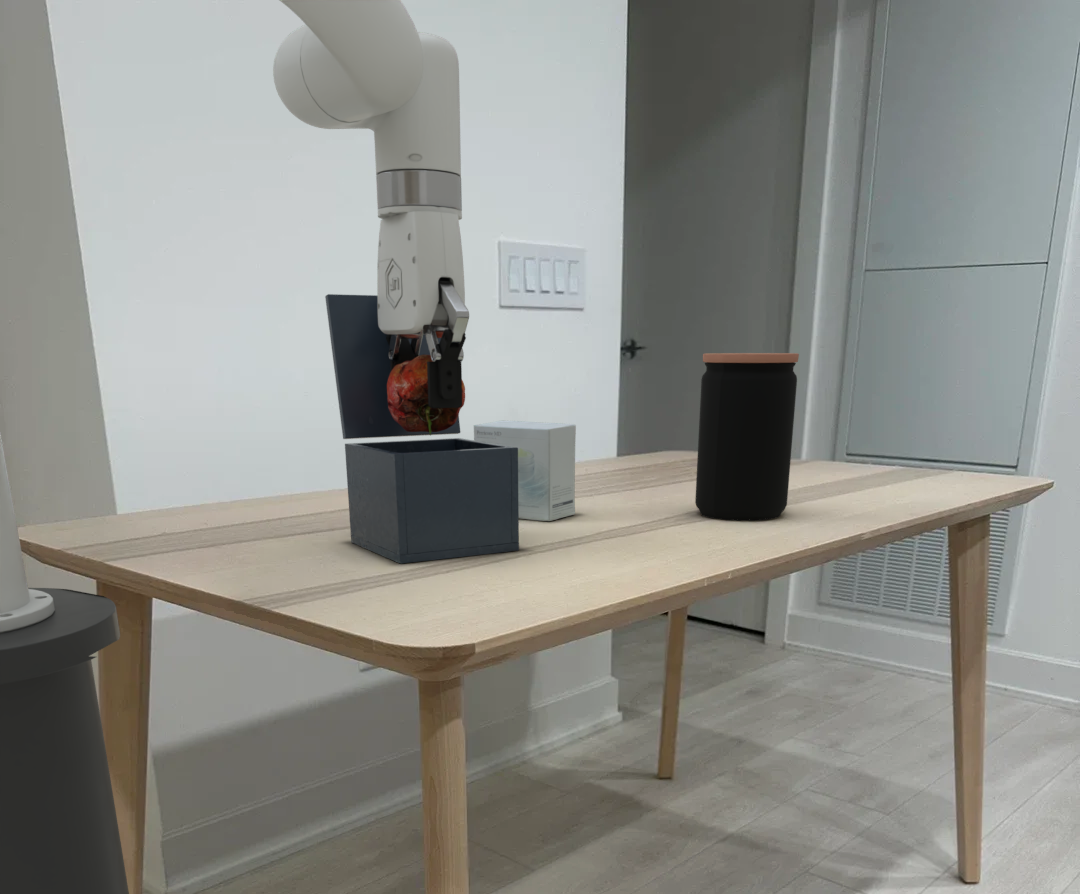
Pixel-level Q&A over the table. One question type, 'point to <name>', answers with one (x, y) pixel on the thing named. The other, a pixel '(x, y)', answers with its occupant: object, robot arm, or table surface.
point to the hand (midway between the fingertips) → (426, 404)
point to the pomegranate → (417, 398)
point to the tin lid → (364, 369)
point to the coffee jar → (745, 435)
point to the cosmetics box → (539, 465)
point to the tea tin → (433, 498)
